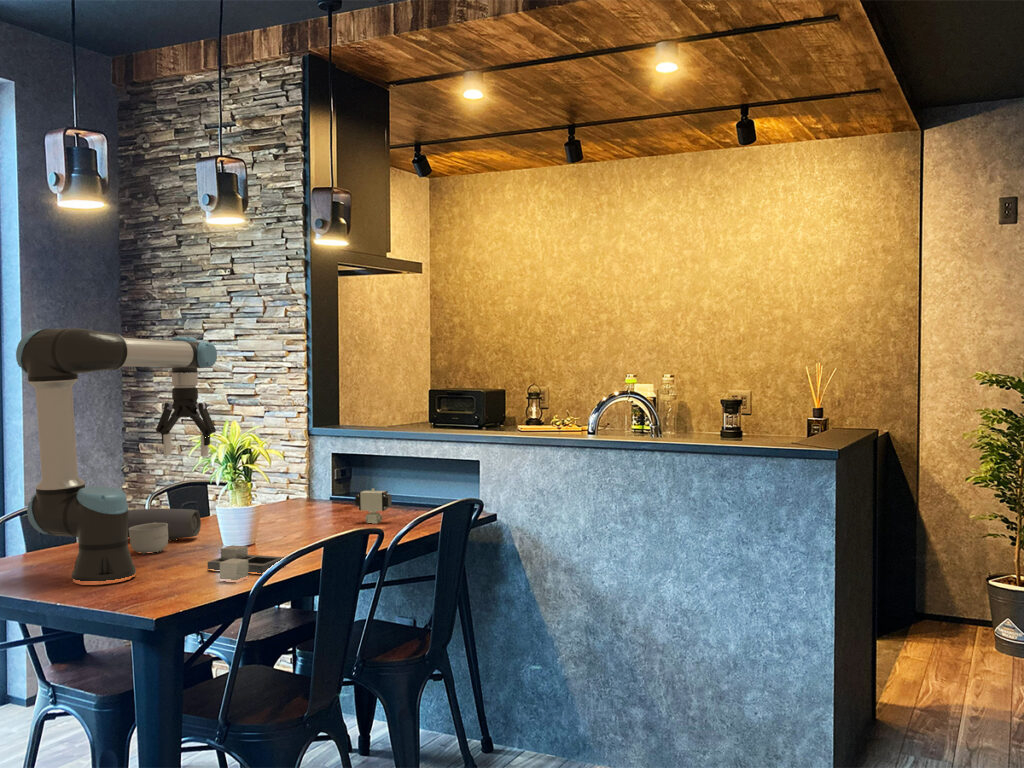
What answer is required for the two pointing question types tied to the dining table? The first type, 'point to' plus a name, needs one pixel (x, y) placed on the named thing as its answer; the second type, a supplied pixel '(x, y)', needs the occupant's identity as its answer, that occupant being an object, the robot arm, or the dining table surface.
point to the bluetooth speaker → (168, 520)
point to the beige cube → (234, 569)
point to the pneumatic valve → (373, 504)
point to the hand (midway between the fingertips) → (185, 455)
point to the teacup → (149, 537)
